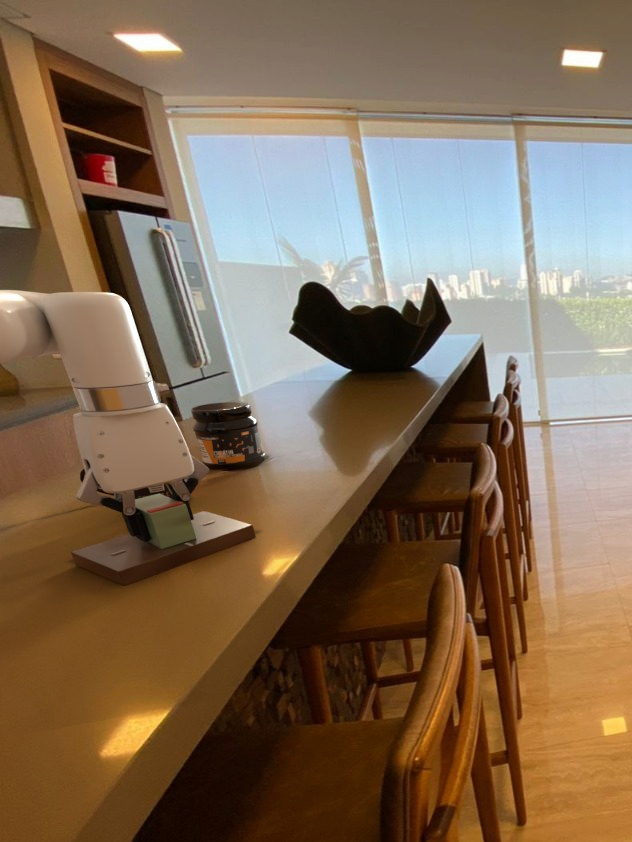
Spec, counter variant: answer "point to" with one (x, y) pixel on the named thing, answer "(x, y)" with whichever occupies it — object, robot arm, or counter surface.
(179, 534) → the green box
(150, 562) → the base
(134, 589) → the counter surface
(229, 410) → the supplement container
